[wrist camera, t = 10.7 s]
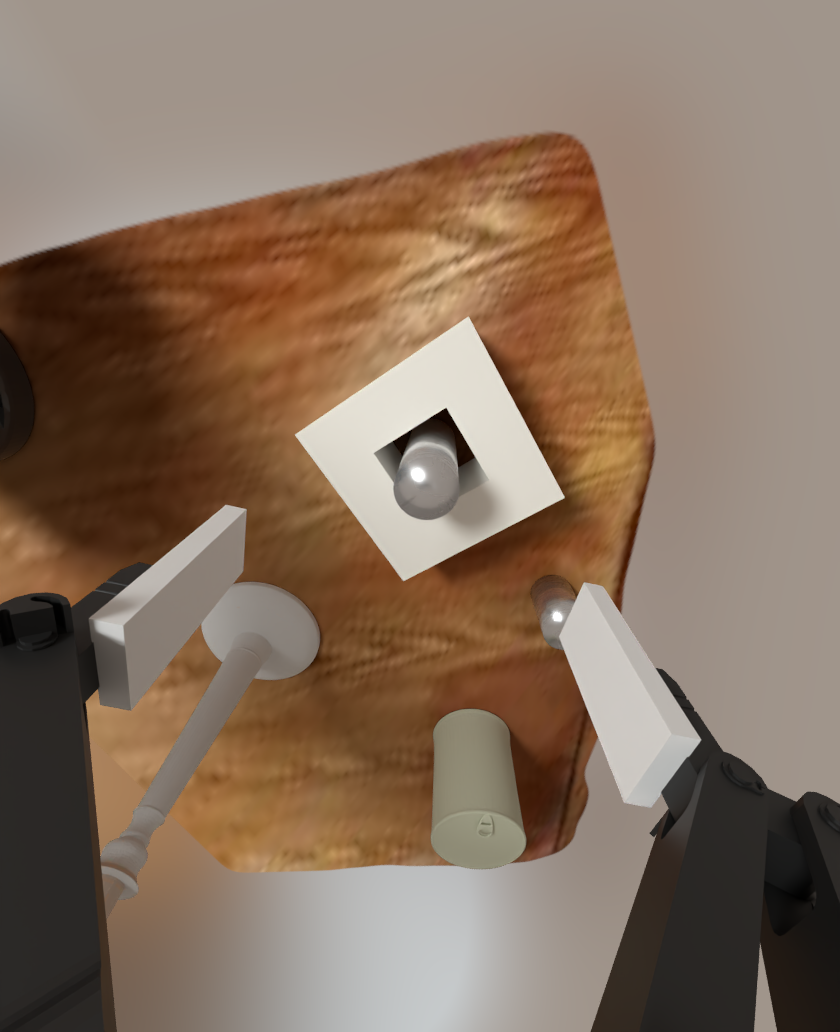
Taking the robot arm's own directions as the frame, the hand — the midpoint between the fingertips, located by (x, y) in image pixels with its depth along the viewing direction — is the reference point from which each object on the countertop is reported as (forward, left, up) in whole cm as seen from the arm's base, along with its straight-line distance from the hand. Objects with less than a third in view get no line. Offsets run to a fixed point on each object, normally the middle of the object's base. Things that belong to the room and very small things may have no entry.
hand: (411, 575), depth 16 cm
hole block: (0, 0, -22) cm, 22 cm away
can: (+33, -15, -22) cm, 43 cm away
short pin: (+19, +2, -22) cm, 29 cm away
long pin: (0, 0, -22) cm, 22 cm away
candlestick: (+8, -27, -22) cm, 36 cm away
